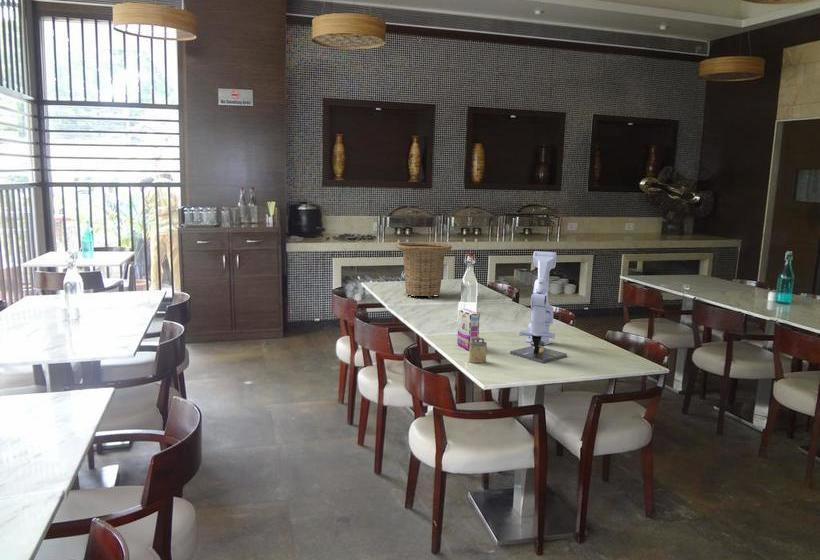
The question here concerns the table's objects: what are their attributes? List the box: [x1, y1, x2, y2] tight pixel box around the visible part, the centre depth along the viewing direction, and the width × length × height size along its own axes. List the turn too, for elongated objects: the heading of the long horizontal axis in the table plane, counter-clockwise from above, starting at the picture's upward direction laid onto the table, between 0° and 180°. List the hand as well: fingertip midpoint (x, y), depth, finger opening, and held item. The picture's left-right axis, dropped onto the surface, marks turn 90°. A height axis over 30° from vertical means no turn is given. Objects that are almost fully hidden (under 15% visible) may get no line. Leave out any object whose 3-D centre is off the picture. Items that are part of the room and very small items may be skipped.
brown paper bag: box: [468, 337, 488, 364], centre depth 251 cm, size 7×4×10 cm, turn 98°
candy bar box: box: [456, 308, 481, 352], centre depth 272 cm, size 11×5×16 cm, turn 23°
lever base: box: [509, 345, 568, 364], centre depth 264 cm, size 17×17×4 cm
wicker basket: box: [396, 241, 453, 297], centre depth 394 cm, size 35×35×33 cm
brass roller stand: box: [530, 341, 546, 355], centre depth 263 cm, size 12×6×4 cm, turn 178°
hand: (535, 353), depth 259 cm, fingers closed, pressing on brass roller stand
